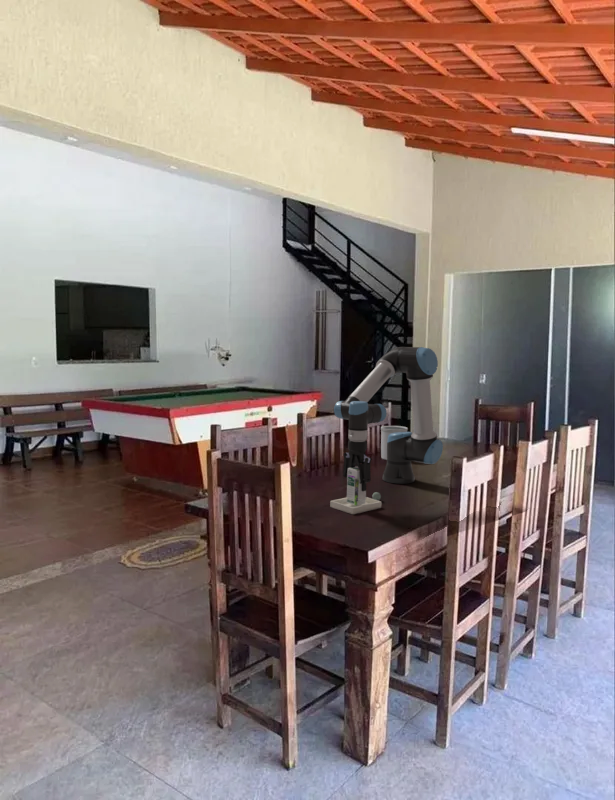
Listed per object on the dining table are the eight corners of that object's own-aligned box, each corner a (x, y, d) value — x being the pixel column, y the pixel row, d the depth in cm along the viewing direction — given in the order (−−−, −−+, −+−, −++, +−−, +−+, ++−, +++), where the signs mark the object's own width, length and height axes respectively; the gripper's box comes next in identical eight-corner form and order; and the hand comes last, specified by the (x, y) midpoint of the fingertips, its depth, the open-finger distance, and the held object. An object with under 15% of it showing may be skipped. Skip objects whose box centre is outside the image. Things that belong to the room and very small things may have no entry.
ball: (376, 499, 265) (376, 490, 265) (382, 500, 262) (382, 492, 262) (370, 500, 263) (370, 492, 262) (376, 502, 260) (376, 493, 259)
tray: (358, 500, 262) (358, 494, 262) (381, 507, 252) (381, 501, 252) (330, 506, 252) (330, 500, 251) (352, 514, 242) (352, 508, 242)
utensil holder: (375, 456, 356) (376, 425, 354) (399, 455, 360) (400, 425, 358) (386, 461, 342) (387, 429, 340) (411, 460, 346) (412, 429, 344)
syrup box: (345, 503, 252) (346, 467, 250) (356, 500, 256) (356, 465, 254) (356, 506, 248) (356, 470, 246) (366, 503, 252) (367, 468, 250)
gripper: (334, 437, 254) (333, 493, 256) (367, 444, 239) (366, 503, 242) (348, 435, 258) (346, 490, 261) (381, 442, 244) (379, 500, 247)
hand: (356, 496), depth 251 cm, fingers closed on syrup box, 6 cm apart
